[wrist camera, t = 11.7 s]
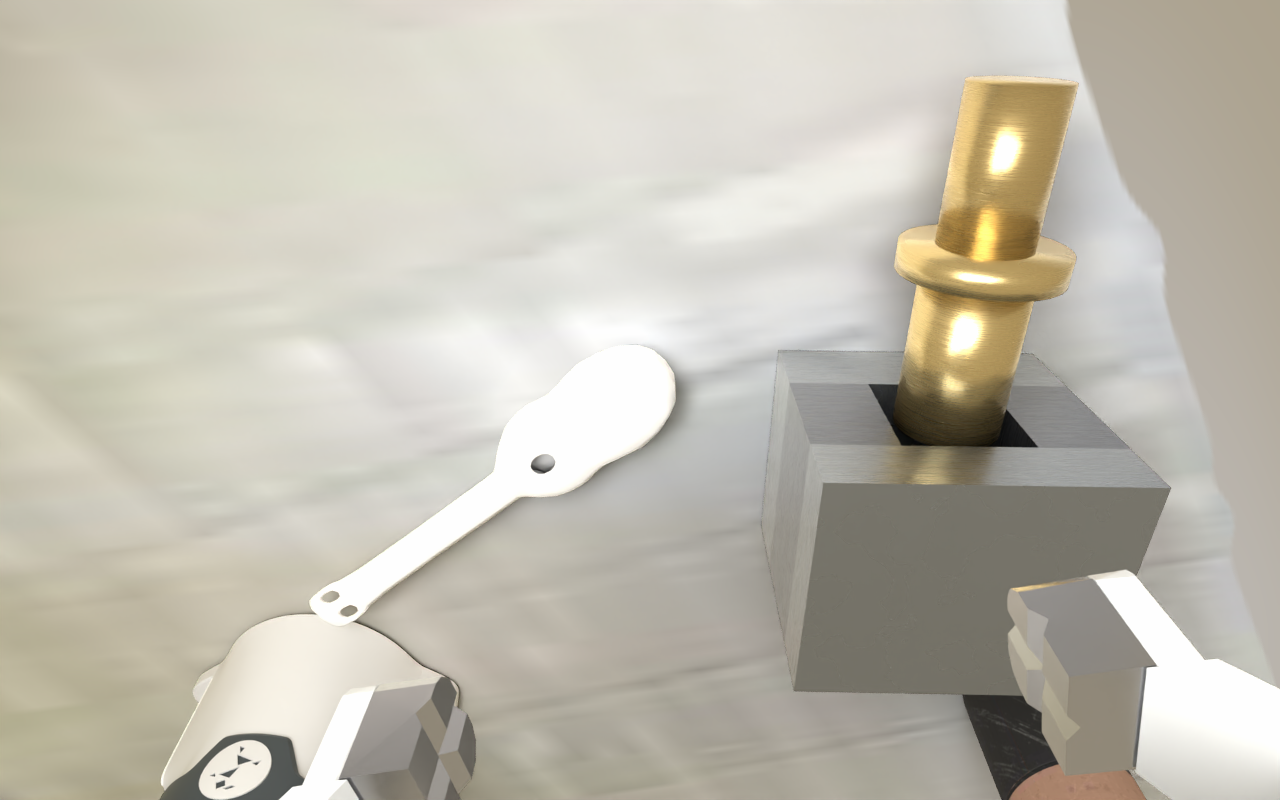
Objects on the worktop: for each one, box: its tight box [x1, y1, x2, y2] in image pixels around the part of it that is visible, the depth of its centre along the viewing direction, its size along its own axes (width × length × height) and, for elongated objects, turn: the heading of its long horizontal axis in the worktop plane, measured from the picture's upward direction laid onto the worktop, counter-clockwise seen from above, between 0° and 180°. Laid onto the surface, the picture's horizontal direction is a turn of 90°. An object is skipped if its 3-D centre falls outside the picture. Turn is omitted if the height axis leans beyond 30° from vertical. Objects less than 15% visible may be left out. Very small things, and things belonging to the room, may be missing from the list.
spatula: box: [309, 345, 676, 627], centre depth 46 cm, size 28×6×3 cm, turn 129°
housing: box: [761, 350, 1171, 696], centre depth 40 cm, size 12×14×13 cm
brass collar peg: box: [893, 76, 1079, 447], centre depth 33 cm, size 15×7×7 cm, turn 0°
